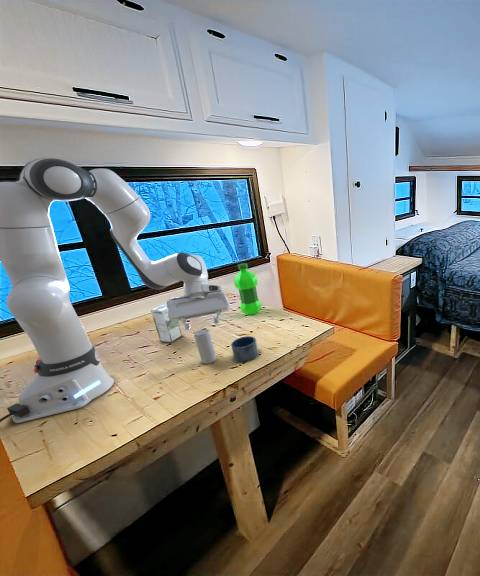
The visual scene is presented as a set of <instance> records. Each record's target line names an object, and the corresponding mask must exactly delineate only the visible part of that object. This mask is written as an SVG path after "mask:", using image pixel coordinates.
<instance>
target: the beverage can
mask: <svg viewBox="0 0 480 576" xmlns="http://www.w3.org/2000/svg"><path fill="white" fill-rule="evenodd" d="M194 340H195V343H196V347H197V350H198V353H199V357H200V360H201V363H203V364H205V365H209V364H213V363H214V362H215V361H216V359H217V355H216V354H217V353H216V351H215V347H214V344H213V339H212V335H211V332H210V330H209V329H206V328H203V329H199V330H197V331H195V332H194Z"/></svg>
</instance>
